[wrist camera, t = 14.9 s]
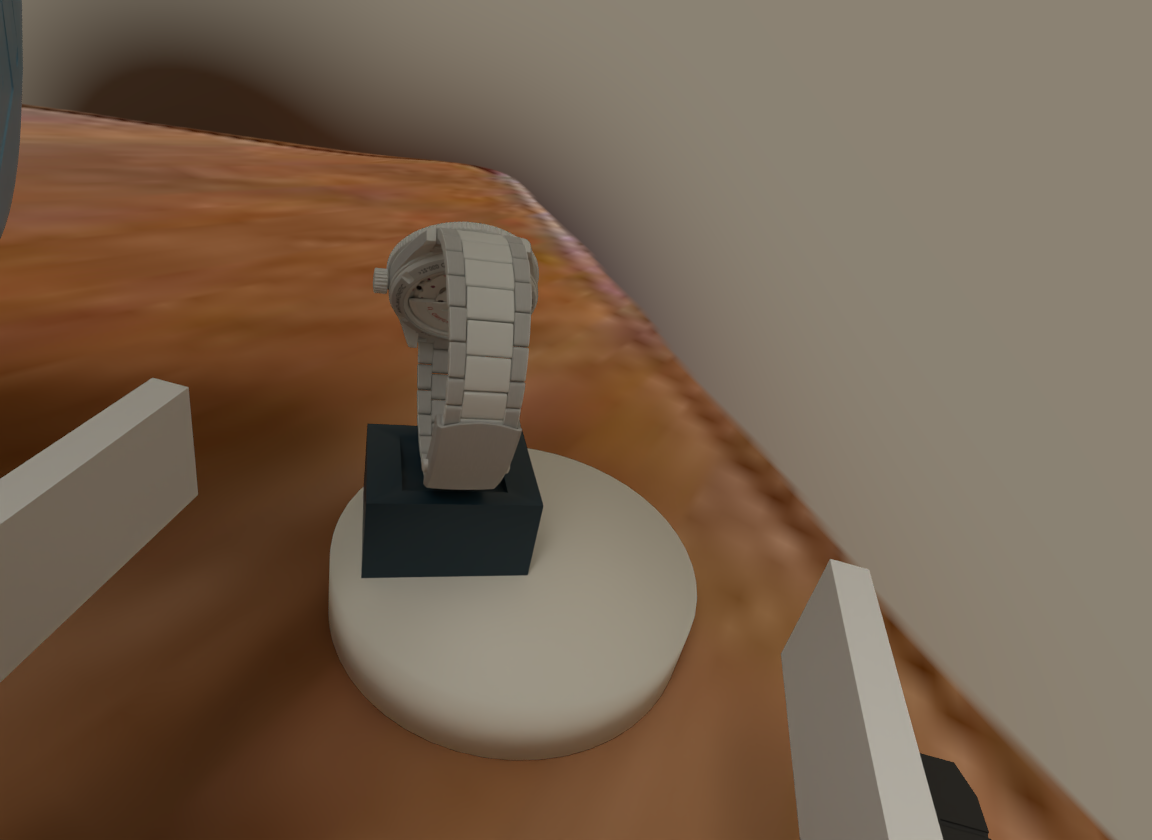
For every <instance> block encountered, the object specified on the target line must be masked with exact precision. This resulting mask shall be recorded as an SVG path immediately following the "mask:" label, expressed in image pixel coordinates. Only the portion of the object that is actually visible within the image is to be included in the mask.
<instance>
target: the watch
mask: <svg viewBox="0 0 1152 840" xmlns="http://www.w3.org/2000/svg"><path fill="white" fill-rule="evenodd" d="M538 279H539V270H538V263H537V259H536V257H535V256H534V254H533V252H532V249H531V244H530V242H529V241H528V240H527V239H523V238H520V237H517V236H515V235H512V234H511V233H508V231H505V230H502V229H500V228H497V227H494V226H490V225H486V224H481V223H473V222H471V223H470V222H449V223H441V224H437V225H433V226H429V227H425V228H422V229H421V230H418V231H415V232H414V233H411V235H408V237H405V239H403V240H402V241H400V243H398V245H396V247H394V250H392V252H391V254H390V257H389V259H388V262H387V269H382V268H375V271H374V276H373V290H374V293H383V294H386V293H387V289H389V300H390V304H391V306H392V308H393V310H394V312H395V313H396V315H397V316H398V318H399V320H400V323H401V325H402V329H403V332H404V335H405V338H406V341H407V344H408V346H409V347H414V348H417V342H418V363H421V364H418V365H417V388H418V390H417V412H418V415H417V424H418V426H408V425H385V424H368V425H367V442H366V458H365V474H364V491H363V527H362V568H361V578H401V577H460V576H518V575H528V572H529V567H530V563H531V559H532V554H533V550H534V545H535V541H536V537H537V532H538V528H539V524H540V519H541V515H542V510H543V506H544V505H543V502H542V498H541V495H540V491H539V488H538V484H537V481H536V477H535V474H534V470H533V467H532V463H531V460H530V456H529V453H528V449H527V446H526V442H525V439H524V435H523V432H522V428H521V426H520V420H519V417H520V408H521V406H522V401H523V396H524V390H525V383H524V381H525V379H526V371H527V362H528V352H529V349H528V348H524V347H528V346H529V338H530V323H531V314H532V313H533V311H534V309H535V307H536V304H537V300H538V285H537V284H538ZM513 346H520V347H513ZM485 356H489V357H485ZM493 357H503V358H493ZM507 358H510V359H507ZM424 364H431V365H424ZM432 373H443V374H448V375H441V374H432ZM519 381H522V382H519ZM430 389H431V391H424V390H430ZM431 399H432V400H431ZM445 400H446V401H445ZM430 414H431V415H430Z"/></svg>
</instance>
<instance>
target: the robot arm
mask: <svg viewBox="0 0 1152 840" xmlns="http://www.w3.org/2000/svg"><path fill="white" fill-rule="evenodd" d="M22 50H23V49H22V0H0V238H1V236H2V233H3V231H4V228H5V225H6V222H7V218H8V215H9V212H10V207H11V203H12V198H13V192H14V187H15V180H16V172H17V165H18V155H19V145H20V128H21V106H22V75H23V51H22ZM197 495H198V487H197V476H196V464H195V453H194V442H193V431H192V420H191V409H190V397H189V387H186V386H182V385H178V384H174V383H171V382H167V381H163V380H159V379H156V378H151V379H150V380H148V381H147V382H145V383H144V384H142V385H141V386H139V387H138V388H136V389H135V390H133V391H132V392H130V393H129V394H127V395H126V396H124V397H123V398H121V399H120V400H118V401H117V402H115V403H114V404H112V405H111V406H109V407H108V408H106V409H105V410H103V411H102V412H100V413H99V414H97V415H96V416H94V417H93V418H91V419H90V420H88V421H87V422H85V423H83V424H82V425H80V426H79V427H77V428H76V429H74V430H73V431H71V432H70V433H68V434H67V435H65V436H64V437H62V438H61V439H59V440H58V441H56V442H55V443H53V444H52V445H50V446H49V447H47V448H46V449H44V450H43V451H41V452H40V453H38V454H37V455H35V456H34V457H32V458H31V459H29V460H28V461H26V462H25V463H23V464H22V465H20V466H19V467H17V468H16V469H14V470H13V471H11V472H10V473H8V474H7V475H5V476H4V477H2V478H1V479H0V682H1V681H2V680H3V679H5V678H6V677H7V676H8V675H9V674H10V673H11V672H12V671H13V670H14V669H15V668H16V667H17V666H18V665H19V664H20V663H21V662H22V661H23V660H25V659H26V658H27V657H28V656H29V655H30V654H31V653H32V652H33V651H34V650H35V649H36V648H37V647H38V646H39V645H40V644H41V643H42V642H43V641H45V640H46V639H47V638H48V637H49V636H50V635H51V634H52V633H53V632H54V631H55V630H56V629H57V628H58V627H59V626H60V625H61V624H62V623H64V622H65V621H66V620H67V619H68V618H69V617H70V616H71V615H72V614H73V613H74V612H75V611H76V610H77V609H78V608H79V607H80V606H81V605H82V604H84V603H85V602H86V601H87V600H88V599H89V598H90V597H91V596H92V595H93V594H94V593H95V592H96V591H97V590H98V589H99V588H100V587H101V586H102V585H104V584H105V583H106V582H107V581H108V580H109V579H110V578H111V577H112V576H113V575H114V574H115V573H116V572H117V571H118V570H119V569H120V568H121V567H123V566H124V565H125V564H126V563H127V562H128V561H129V560H130V559H131V558H132V557H133V556H134V555H135V554H136V553H137V552H138V551H139V550H140V549H141V548H143V547H144V546H145V545H146V544H147V543H148V542H149V541H150V540H151V539H152V538H153V537H154V536H155V535H156V534H157V533H158V532H159V531H160V530H161V529H163V528H164V527H165V526H166V525H167V524H168V523H169V522H170V521H171V520H172V519H173V518H174V517H175V516H176V515H177V514H178V513H179V512H180V511H182V510H183V509H184V508H185V507H186V506H187V505H188V504H189V503H190V502H191V501H192V500H193V499H194V498H195V497H196V496H197ZM781 659H782V668H783V678H784V688H785V697H786V707H787V717H788V727H789V736H790V746H791V756H792V765H793V775H794V785H795V795H796V804H797V814H798V824H799V834H800V840H991V839H989V838H988V833H989V831H988V828H987V825H986V822H985V819H984V816H983V813H982V810H981V807H980V804H979V801H978V798H977V796H976V795H975V793H974V792H973V790H972V789H971V787H970V786H969V784H968V783H967V781H966V780H965V778H964V777H963V775H962V774H961V772H960V771H959V769H958V768H957V766H956V765H955V763H953V762H950V761H946V760H943V759H939V758H935V757H932V756H928V755H924V754H921V753H919V749H918V746H917V742H916V739H915V735H914V731H913V728H912V724H911V720H910V717H909V713H908V709H907V706H906V702H905V698H904V695H903V691H902V688H901V684H900V680H899V677H898V673H897V669H896V666H895V662H894V658H893V655H892V651H891V647H890V644H889V640H888V636H887V633H886V629H885V626H884V622H883V618H882V615H881V611H880V607H879V604H878V600H877V596H876V593H875V589H874V585H873V582H872V578H871V574H870V571H869V569H866V568H862V567H858V566H855V565H851V564H847V563H843V562H840V561H836V560H832V559H830V560H829V562H828V564H827V566H826V568H825V570H824V572H823V574H822V576H821V578H820V580H819V582H818V584H817V585H816V587H815V589H814V591H813V593H812V595H811V597H810V599H809V601H808V603H807V605H806V607H805V609H804V611H803V612H802V614H801V616H800V618H799V620H798V622H797V624H796V626H795V628H794V630H793V632H792V634H791V636H790V638H789V640H788V641H787V643H786V645H785V647H784V649H783V651H782V653H781Z"/></svg>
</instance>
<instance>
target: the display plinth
mask: <svg viewBox="0 0 1152 840" xmlns="http://www.w3.org/2000/svg"><path fill="white" fill-rule="evenodd" d="M527 449H528V448H527ZM528 453H529V456H530V460H531V463H532V467H533V470H534V474H535V477H536V481H537V484H538V488H539V491H540V495H541V498H542V502H543V505H544V506H543V510H542V515H541V519H540V524H539V528H538V532H537V537H536V541H535V545H534V550H533V554H532V559H531V563H530V567H529V572H528V575H518V576H460V577H401V578H361V568H362V527H363V491H364V487H363V488H361V489H360V490H359V491H358V493H357V494H356V495H355V496H354V497H353V498H352V499H351V501H350V502H349V503H348V505H347V506H346V508H345V509H344V511H343V513H342V514H341V516H340V518H339V520H338V523H337V525H336V528H335V530H334V533H333V538H332V543H331V548H330V569H329V600H328V616H329V627H330V632H331V637H332V642H333V644H334V647H335V650H336V652H337V655H338V658H339V660H340V662H341V664H342V665H343V667H344V669H345V671H346V672H347V674H348V676H349V677H350V679H351V680H352V682H353V683H354V684H355V685H356V687H357V688H358V689H359V690H360V691H361V693H362V694H363V695H364V696H365V698H366V699H368V700H369V701H370V702H371V703H372V704H373V705H374V706H375V707H376V708H377V709H379V710H380V711H381V712H382V713H383V714H384V715H385V716H387V717H388V718H390V719H391V720H393V721H394V722H396V723H397V724H399V725H400V726H402V727H403V728H404V729H406V730H408V731H410V732H412V733H414V734H416V735H418V736H420V737H422V738H424V739H426V740H428V741H430V742H432V743H435V744H438V745H440V746H443V747H446V748H449V749H452V750H454V751H457V752H462V753H466V754H471V755H475V756H480V757H484V758H494V759H504V760H542V759H549V758H555V757H562V756H568V755H571V754H574V753H578V752H581V751H585V750H588V749H591V748H594V747H596V746H598V745H600V744H603V743H605V742H607V741H609V740H612V739H614V738H615V737H617V736H618V735H620V734H621V733H623V732H625V731H626V730H628V729H629V728H631V727H632V726H633V725H634V724H636V723H637V722H638V721H639V720H640V719H641V718H642V717H643V716H645V715H646V714H647V713H648V712H649V711H650V709H651V708H652V707H653V706H654V704H655V703H656V702H657V701H658V699H659V698H660V697H661V695H662V693H663V691H664V690H665V688H666V686H667V684H668V682H669V680H670V678H671V676H672V673H673V671H674V668H675V666H676V663H677V661H678V659H679V656H680V654H681V651H682V649H683V646H684V644H685V642H686V639H687V637H688V634H689V632H690V629H691V626H692V623H693V620H694V617H695V611H696V603H697V589H696V579H695V575H694V570H693V566H692V563H691V561H690V558H689V556H688V553H687V551H686V549H685V547H684V545H683V544H682V542H681V540H680V538H679V537H678V535H677V534H676V532H675V531H674V530H673V528H672V527H671V526H670V524H669V523H668V521H667V520H666V519H665V518H664V517H663V516H662V515H661V514H660V513H659V512H658V511H657V510H656V509H655V508H654V507H653V506H652V505H651V504H650V503H649V502H647V501H646V500H645V499H644V498H643V497H642V496H640V495H639V494H638V493H636V492H635V491H633V490H632V489H631V488H629V487H628V486H626V485H625V484H623V483H621V482H620V481H618V480H616V479H615V478H613V477H611V476H610V475H608V474H606V473H603V472H601V471H599V470H597V469H595V468H593V467H591V466H588V465H586V464H583V463H581V462H578V461H576V460H573V459H570V458H566V457H563V456H560V455H557V454H553V453H548V452H544V451H540V450H534V449H528Z"/></svg>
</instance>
